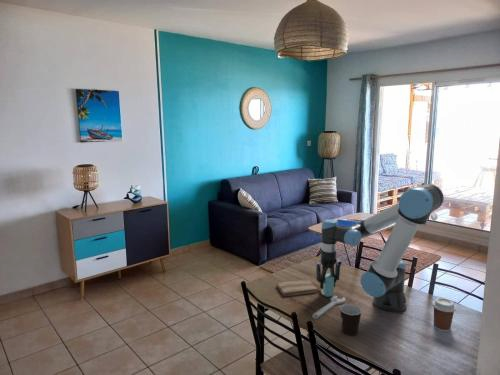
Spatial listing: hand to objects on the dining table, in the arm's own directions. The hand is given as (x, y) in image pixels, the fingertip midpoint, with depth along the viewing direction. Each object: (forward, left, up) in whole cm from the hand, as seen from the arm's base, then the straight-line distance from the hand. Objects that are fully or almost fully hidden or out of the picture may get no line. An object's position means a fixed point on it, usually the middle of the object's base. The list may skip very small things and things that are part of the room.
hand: (327, 293), depth 187 cm
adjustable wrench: (-12, +5, -1) cm, 13 cm away
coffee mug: (-31, +4, -1) cm, 32 cm away
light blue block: (+3, 0, 0) cm, 3 cm away
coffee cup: (-39, -35, -1) cm, 53 cm away
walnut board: (+10, +13, -1) cm, 16 cm away
